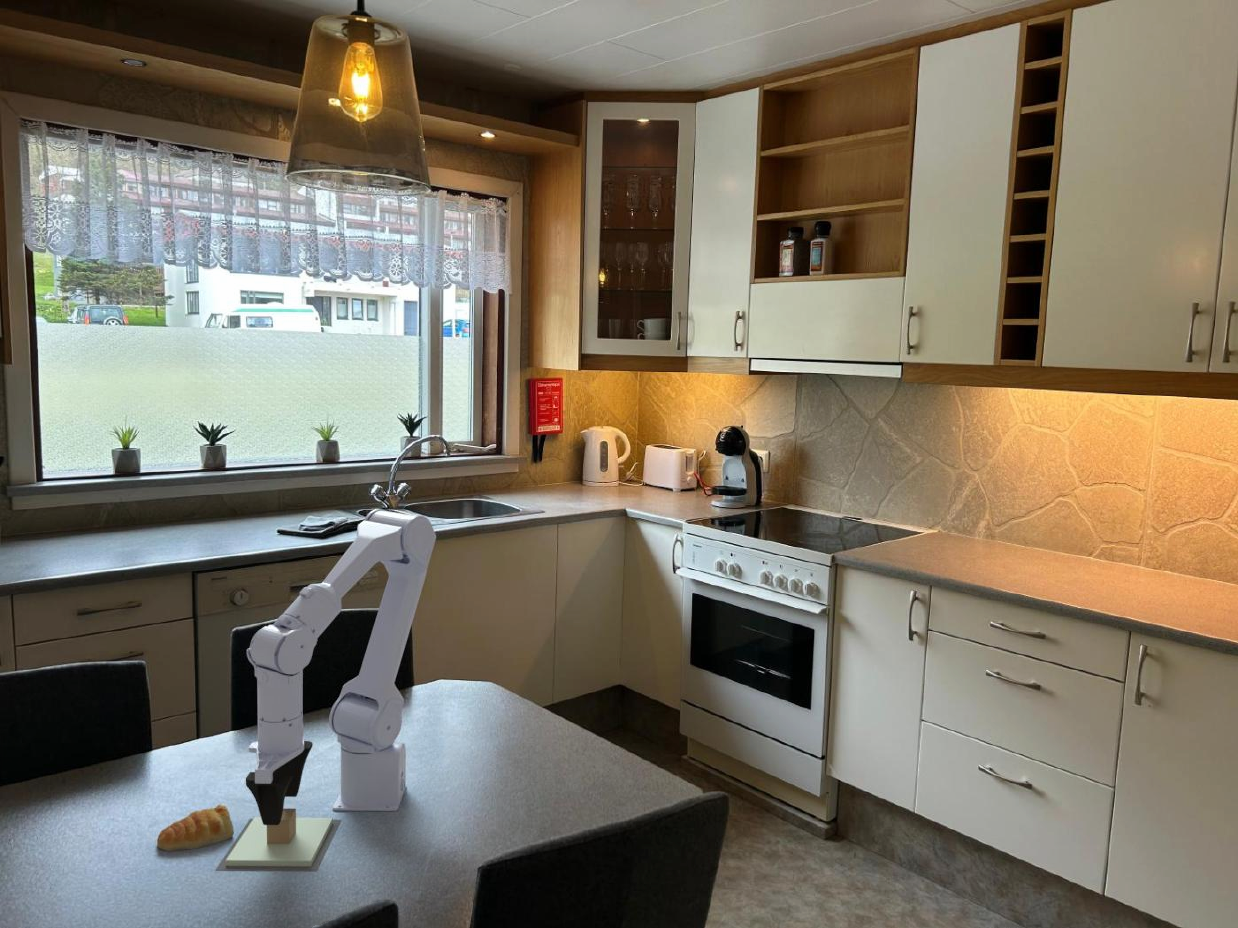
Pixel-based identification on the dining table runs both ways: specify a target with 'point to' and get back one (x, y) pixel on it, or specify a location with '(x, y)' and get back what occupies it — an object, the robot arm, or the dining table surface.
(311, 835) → the cover
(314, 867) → the mat
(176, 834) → the pastry
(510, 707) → the dining table surface
